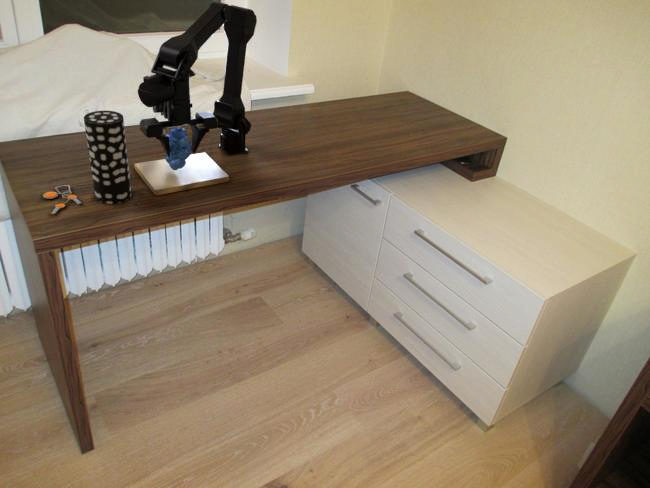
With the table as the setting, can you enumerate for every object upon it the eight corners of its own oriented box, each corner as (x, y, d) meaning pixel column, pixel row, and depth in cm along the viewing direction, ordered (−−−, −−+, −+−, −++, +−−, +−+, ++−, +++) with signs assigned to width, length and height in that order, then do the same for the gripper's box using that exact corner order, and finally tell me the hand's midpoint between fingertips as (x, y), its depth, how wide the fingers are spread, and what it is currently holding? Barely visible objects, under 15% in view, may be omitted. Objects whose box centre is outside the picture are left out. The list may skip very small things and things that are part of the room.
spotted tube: (100, 186, 136) (89, 109, 125) (134, 188, 137) (127, 111, 126) (91, 203, 129) (78, 123, 118) (127, 204, 130) (118, 125, 119)
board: (204, 157, 156) (204, 152, 155) (229, 181, 145) (229, 176, 144) (134, 168, 145) (134, 163, 145) (155, 195, 135) (155, 190, 134)
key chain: (40, 190, 131) (40, 187, 131) (73, 185, 135) (73, 182, 134) (49, 215, 122) (49, 212, 122) (84, 209, 126) (83, 206, 125)
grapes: (198, 179, 142) (205, 136, 137) (173, 179, 138) (180, 135, 133) (180, 160, 150) (187, 118, 144) (156, 160, 145) (162, 117, 140)
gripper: (200, 82, 143) (202, 138, 152) (129, 89, 134) (135, 148, 143) (218, 96, 136) (219, 153, 145) (144, 105, 127) (150, 165, 135)
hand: (181, 154), depth 142 cm, fingers closed on grapes, 6 cm apart
